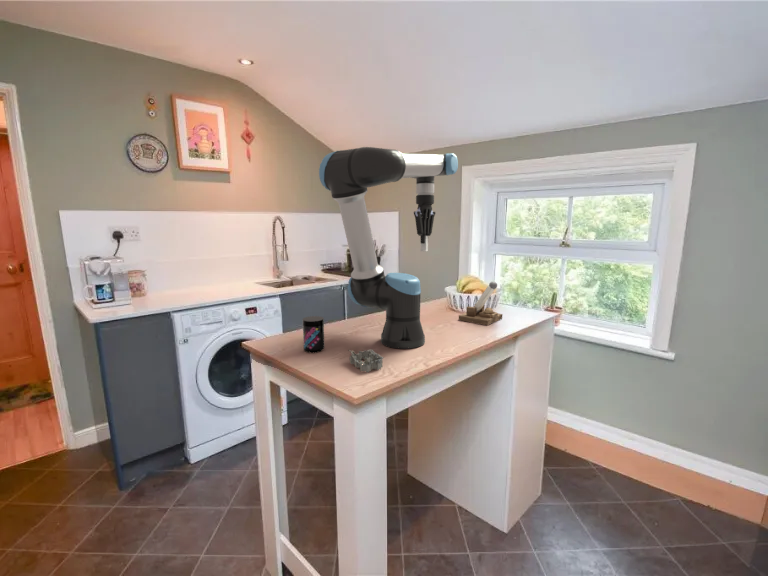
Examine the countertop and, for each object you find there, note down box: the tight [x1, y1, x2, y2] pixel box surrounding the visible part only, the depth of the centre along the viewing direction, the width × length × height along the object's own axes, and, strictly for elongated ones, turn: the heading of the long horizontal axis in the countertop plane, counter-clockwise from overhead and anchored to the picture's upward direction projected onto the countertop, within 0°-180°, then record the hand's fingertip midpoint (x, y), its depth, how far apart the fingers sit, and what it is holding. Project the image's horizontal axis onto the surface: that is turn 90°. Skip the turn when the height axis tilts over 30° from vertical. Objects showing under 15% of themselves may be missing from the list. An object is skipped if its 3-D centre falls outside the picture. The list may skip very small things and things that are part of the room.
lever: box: [473, 281, 498, 313], centre depth 157 cm, size 5×3×16 cm
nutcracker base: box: [458, 304, 503, 326], centre depth 159 cm, size 14×13×6 cm
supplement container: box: [302, 315, 326, 354], centre depth 121 cm, size 7×7×10 cm
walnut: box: [484, 307, 494, 315], centre depth 156 cm, size 4×4×4 cm
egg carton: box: [348, 349, 385, 373], centre depth 109 cm, size 11×8×4 cm
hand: (424, 251), depth 161 cm, fingers closed
